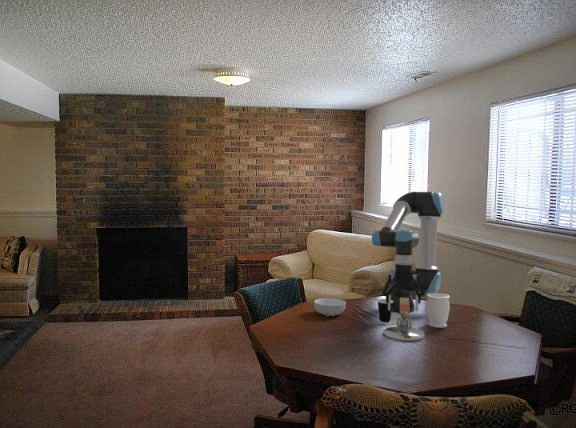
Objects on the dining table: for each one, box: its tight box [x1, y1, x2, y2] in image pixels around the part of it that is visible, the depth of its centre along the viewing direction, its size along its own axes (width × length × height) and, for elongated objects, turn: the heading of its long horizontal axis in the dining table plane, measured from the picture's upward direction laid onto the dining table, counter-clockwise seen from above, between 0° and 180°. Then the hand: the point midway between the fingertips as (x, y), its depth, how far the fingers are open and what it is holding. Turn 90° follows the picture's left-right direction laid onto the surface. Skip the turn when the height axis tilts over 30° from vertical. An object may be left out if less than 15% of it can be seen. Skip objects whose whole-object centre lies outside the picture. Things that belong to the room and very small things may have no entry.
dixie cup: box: [376, 298, 393, 325], centre depth 240 cm, size 8×8×11 cm
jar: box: [426, 292, 451, 329], centre depth 235 cm, size 11×10×15 cm
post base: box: [383, 316, 425, 343], centre depth 220 cm, size 18×18×8 cm
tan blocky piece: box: [396, 298, 413, 329], centre depth 219 cm, size 7×13×13 cm, turn 167°
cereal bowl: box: [313, 297, 347, 317], centre depth 255 cm, size 17×17×7 cm
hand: (402, 310), depth 223 cm, fingers open, 12 cm apart
